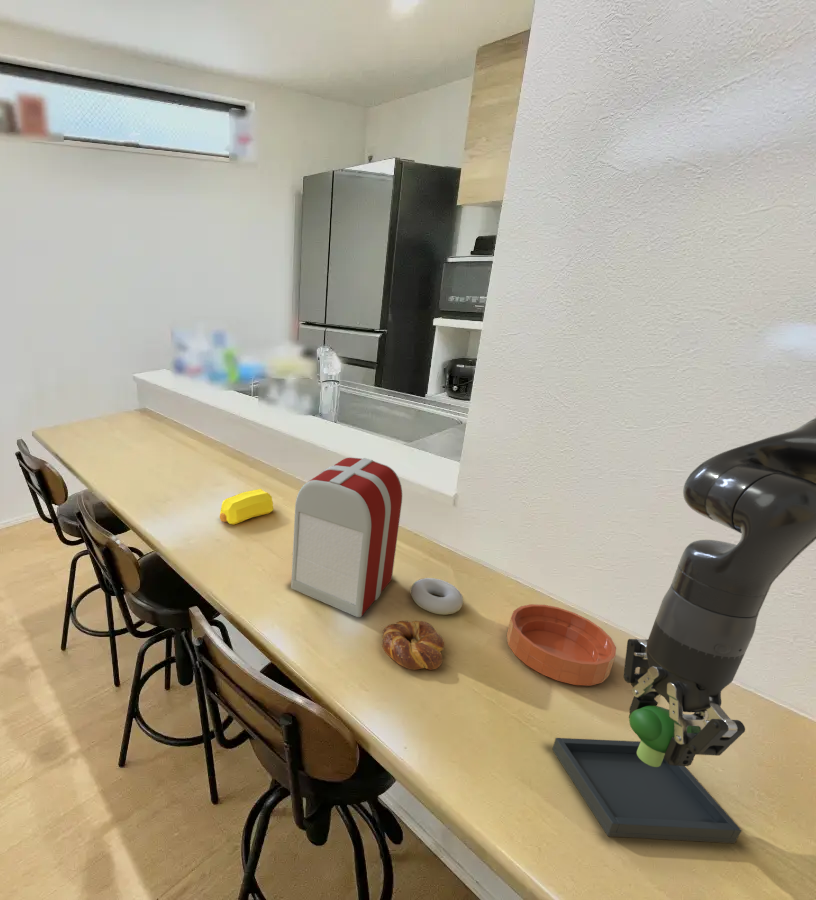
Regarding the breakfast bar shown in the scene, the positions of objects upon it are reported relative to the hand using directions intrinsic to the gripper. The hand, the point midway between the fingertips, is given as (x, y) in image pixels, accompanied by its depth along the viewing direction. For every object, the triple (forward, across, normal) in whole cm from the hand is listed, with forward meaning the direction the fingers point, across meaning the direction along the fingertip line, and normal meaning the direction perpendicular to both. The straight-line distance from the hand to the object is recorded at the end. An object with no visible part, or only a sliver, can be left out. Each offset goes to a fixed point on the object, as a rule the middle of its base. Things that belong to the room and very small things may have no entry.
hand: (655, 740), depth 62 cm
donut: (+9, +39, +12) cm, 42 cm away
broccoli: (+3, 0, 0) cm, 3 cm away
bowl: (+9, +25, -4) cm, 27 cm away
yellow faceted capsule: (+9, +76, +51) cm, 92 cm away
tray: (+9, 0, 0) cm, 9 cm away
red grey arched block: (+9, +45, +30) cm, 55 cm away
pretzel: (+9, +25, +21) cm, 34 cm away
